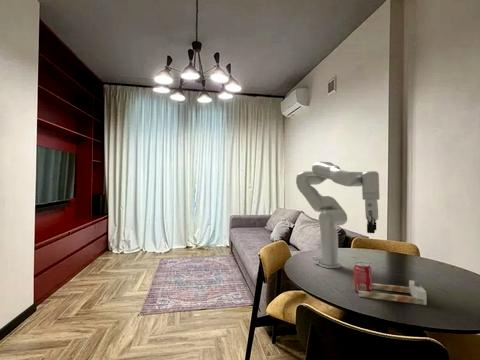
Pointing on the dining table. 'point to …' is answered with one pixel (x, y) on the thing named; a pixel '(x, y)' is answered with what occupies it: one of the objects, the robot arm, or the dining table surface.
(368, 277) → the soda can
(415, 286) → the connector block
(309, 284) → the dining table surface
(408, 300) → the guide channel
